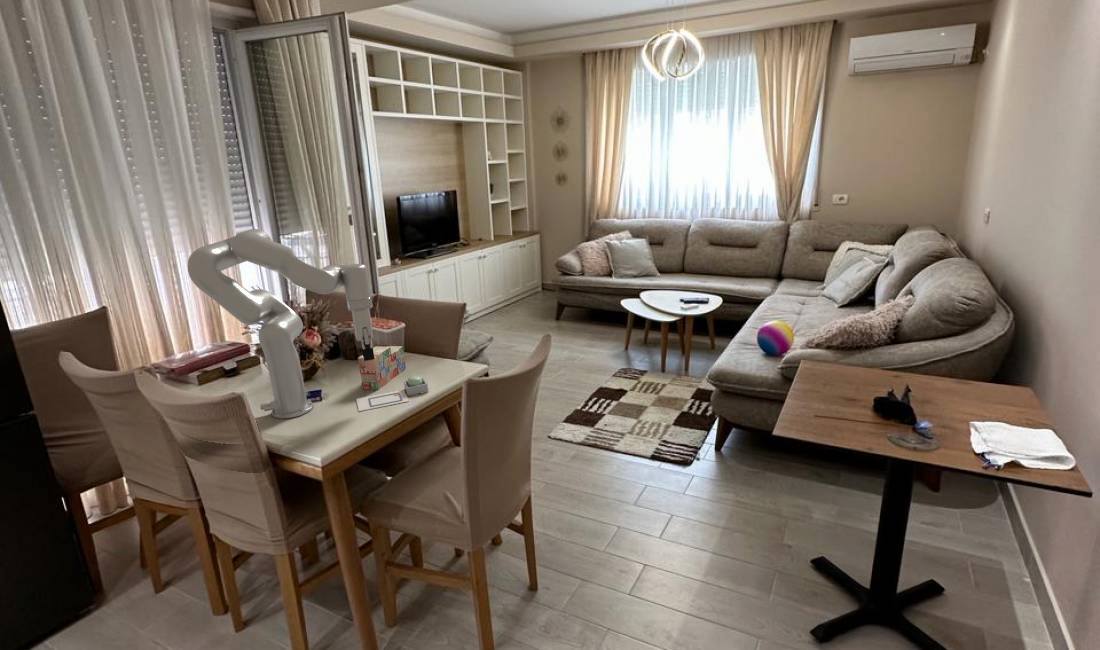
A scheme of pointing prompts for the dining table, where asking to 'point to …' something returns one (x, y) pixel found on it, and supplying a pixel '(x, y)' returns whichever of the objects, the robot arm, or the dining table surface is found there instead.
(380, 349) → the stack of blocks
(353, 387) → the dining table surface
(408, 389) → the button housing
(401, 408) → the dining table surface
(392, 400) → the sheet
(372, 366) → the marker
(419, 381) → the button
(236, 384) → the dining table surface
